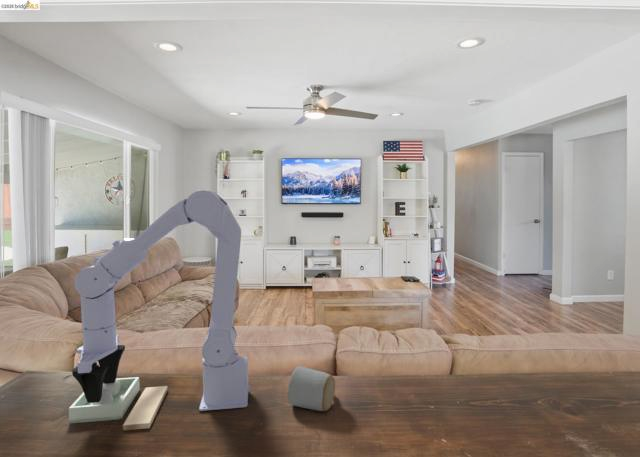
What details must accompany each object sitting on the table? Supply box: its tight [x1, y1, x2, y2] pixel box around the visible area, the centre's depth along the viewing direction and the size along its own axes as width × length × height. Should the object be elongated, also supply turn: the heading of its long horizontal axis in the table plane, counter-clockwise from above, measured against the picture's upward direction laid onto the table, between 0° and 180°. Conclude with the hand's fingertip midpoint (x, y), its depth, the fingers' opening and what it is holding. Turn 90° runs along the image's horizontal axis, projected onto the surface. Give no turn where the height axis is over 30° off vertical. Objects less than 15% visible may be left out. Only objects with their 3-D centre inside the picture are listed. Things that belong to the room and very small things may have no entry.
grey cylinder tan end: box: [287, 365, 336, 412], centre depth 79 cm, size 11×8×8 cm
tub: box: [68, 376, 141, 424], centre depth 78 cm, size 9×11×3 cm
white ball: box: [102, 380, 121, 396], centre depth 80 cm, size 4×4×4 cm
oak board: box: [122, 385, 169, 431], centre depth 77 cm, size 5×14×1 cm, turn 9°
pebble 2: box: [93, 389, 113, 405], centre depth 76 cm, size 4×4×4 cm
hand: (102, 391), depth 75 cm, fingers open, 7 cm apart
